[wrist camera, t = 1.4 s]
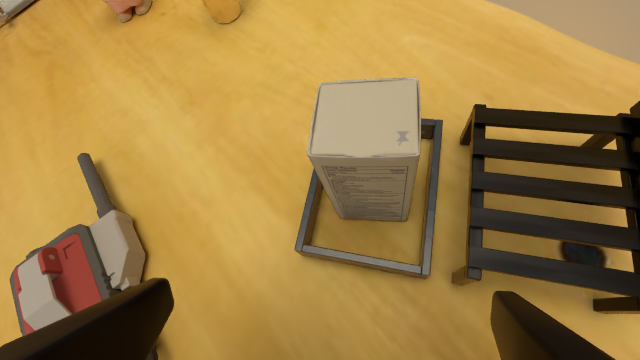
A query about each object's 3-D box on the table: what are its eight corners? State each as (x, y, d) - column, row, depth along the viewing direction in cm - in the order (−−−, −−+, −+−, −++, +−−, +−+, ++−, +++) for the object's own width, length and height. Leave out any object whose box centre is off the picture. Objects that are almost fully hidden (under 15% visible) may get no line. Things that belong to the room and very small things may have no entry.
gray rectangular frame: (438, 134, 24) (442, 119, 22) (425, 279, 20) (430, 276, 19) (330, 124, 26) (327, 111, 24) (301, 255, 22) (294, 250, 21)
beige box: (408, 166, 24) (425, 75, 15) (408, 223, 22) (427, 159, 13) (340, 164, 25) (316, 78, 16) (335, 218, 23) (305, 156, 14)
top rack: (591, 147, 22) (650, 100, 17) (609, 315, 18) (692, 316, 13) (459, 136, 24) (479, 91, 19) (450, 284, 20) (472, 275, 15)
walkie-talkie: (195, 348, 21) (105, 154, 30) (152, 356, 17) (61, 129, 26) (84, 437, 20) (22, 211, 29) (11, 468, 16) (-36, 195, 25)
